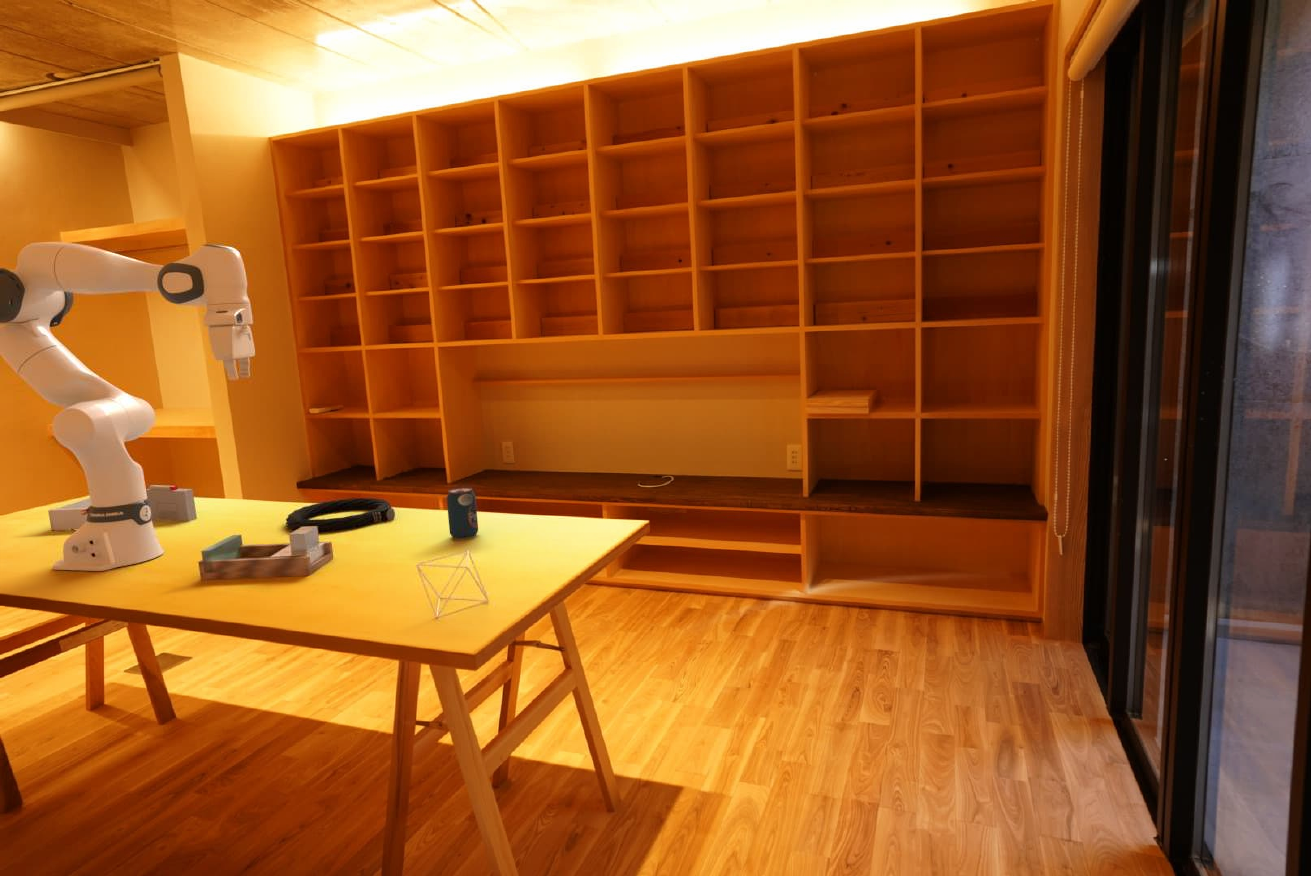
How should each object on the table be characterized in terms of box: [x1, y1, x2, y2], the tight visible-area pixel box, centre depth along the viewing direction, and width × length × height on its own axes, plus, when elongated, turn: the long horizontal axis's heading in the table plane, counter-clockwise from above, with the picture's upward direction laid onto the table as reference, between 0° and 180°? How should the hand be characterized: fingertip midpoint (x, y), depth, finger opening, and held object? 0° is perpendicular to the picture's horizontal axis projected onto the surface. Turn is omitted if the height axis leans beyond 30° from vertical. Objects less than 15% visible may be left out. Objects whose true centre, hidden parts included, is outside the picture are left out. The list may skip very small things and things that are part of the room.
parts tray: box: [47, 497, 91, 531], centre depth 227 cm, size 13×23×6 cm, turn 179°
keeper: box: [270, 526, 326, 564], centre depth 171 cm, size 8×9×7 cm
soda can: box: [446, 486, 479, 541], centre depth 189 cm, size 7×7×12 cm
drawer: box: [197, 534, 334, 581], centre depth 171 cm, size 24×12×6 cm, turn 89°
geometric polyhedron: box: [415, 550, 489, 619], centre depth 143 cm, size 12×11×9 cm
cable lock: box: [285, 497, 396, 533], centre depth 213 cm, size 28×4×30 cm
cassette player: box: [146, 484, 198, 522], centre depth 223 cm, size 16×3×10 cm, turn 71°
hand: (239, 378), depth 174 cm, fingers open, 8 cm apart
